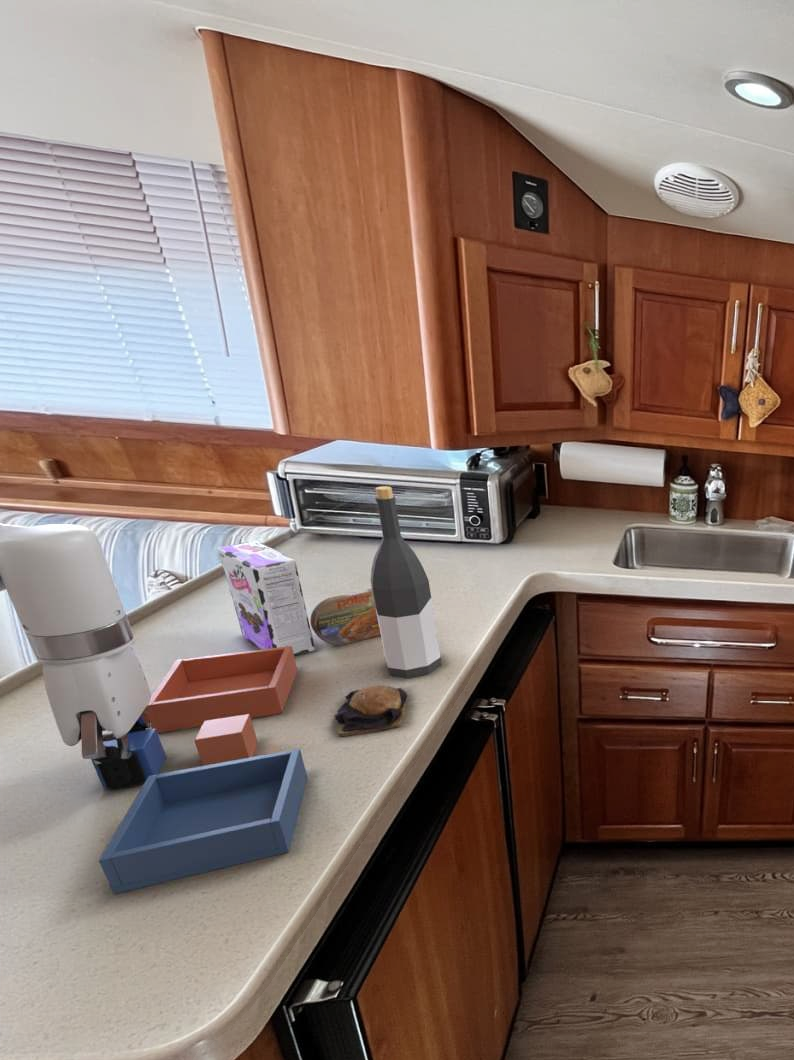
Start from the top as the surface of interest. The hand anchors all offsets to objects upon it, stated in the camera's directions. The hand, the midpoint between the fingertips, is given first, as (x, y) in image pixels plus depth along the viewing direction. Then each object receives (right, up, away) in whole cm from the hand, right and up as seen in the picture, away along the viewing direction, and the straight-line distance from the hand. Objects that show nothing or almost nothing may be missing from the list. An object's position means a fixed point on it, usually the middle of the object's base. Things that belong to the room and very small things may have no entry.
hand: (135, 770), depth 77 cm
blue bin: (+17, -5, -7) cm, 19 cm away
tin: (+3, +14, +37) cm, 39 cm away
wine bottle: (+17, +10, +28) cm, 34 cm away
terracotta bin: (-2, +6, +16) cm, 17 cm away
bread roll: (+19, +4, +15) cm, 25 cm away
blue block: (0, 0, 0) cm, 0 cm away
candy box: (-8, +13, +31) cm, 35 cm away
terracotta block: (+8, +1, +4) cm, 9 cm away
